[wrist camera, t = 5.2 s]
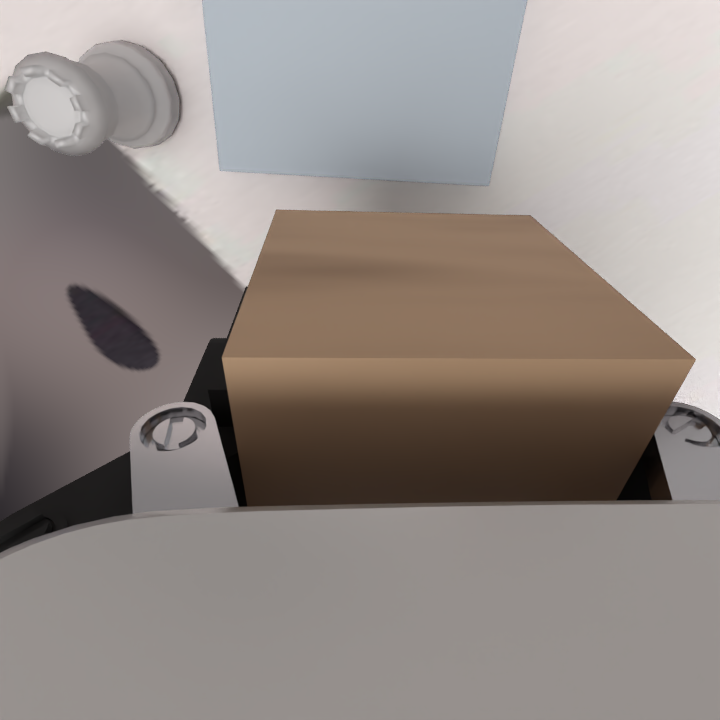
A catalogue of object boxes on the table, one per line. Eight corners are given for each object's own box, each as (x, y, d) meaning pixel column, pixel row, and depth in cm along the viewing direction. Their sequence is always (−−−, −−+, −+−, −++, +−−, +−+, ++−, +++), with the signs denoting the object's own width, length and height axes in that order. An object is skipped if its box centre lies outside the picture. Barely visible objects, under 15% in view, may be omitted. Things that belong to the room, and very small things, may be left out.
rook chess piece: (121, 15, 20) (12, -10, 14) (201, 100, 22) (139, 115, 16) (69, 91, 22) (-52, 102, 15) (149, 165, 24) (72, 203, 17)
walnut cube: (482, 406, 14) (560, 599, 9) (290, 407, 14) (264, 606, 9) (530, 215, 11) (696, 360, 6) (276, 209, 10) (221, 357, 5)
